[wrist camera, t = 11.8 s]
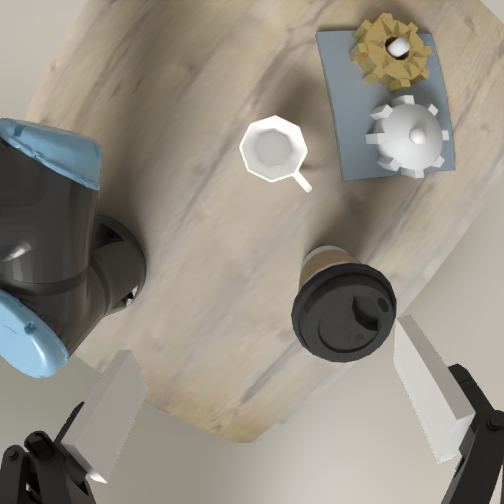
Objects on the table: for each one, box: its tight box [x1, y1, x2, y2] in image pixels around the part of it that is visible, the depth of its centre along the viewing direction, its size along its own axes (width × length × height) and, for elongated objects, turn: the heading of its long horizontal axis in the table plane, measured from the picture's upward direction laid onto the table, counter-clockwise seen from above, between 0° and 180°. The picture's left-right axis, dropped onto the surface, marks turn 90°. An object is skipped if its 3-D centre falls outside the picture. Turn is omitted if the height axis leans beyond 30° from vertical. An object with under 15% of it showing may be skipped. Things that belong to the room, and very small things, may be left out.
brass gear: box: [349, 13, 433, 92], centre depth 30 cm, size 10×10×4 cm
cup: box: [239, 115, 312, 193], centre depth 35 cm, size 7×10×8 cm
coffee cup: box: [291, 245, 397, 363], centre depth 36 cm, size 11×11×15 cm
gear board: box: [315, 30, 456, 181], centre depth 31 cm, size 17×20×8 cm
